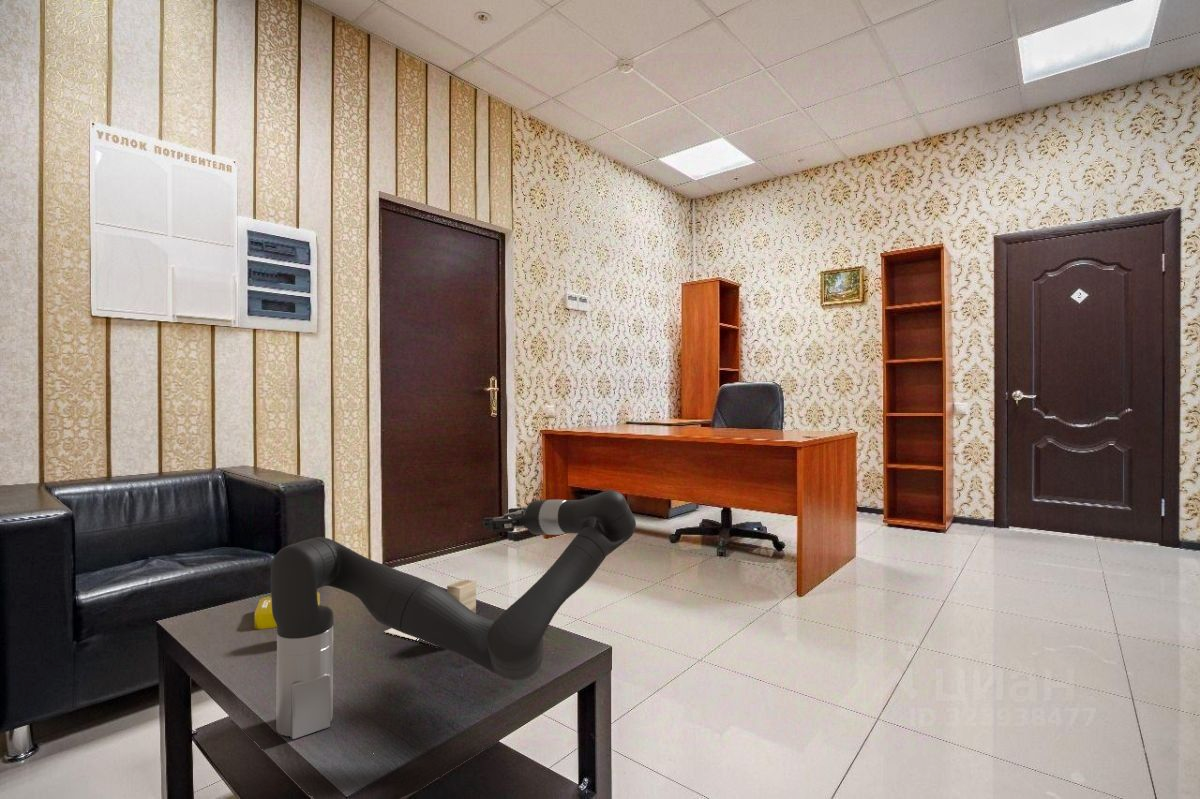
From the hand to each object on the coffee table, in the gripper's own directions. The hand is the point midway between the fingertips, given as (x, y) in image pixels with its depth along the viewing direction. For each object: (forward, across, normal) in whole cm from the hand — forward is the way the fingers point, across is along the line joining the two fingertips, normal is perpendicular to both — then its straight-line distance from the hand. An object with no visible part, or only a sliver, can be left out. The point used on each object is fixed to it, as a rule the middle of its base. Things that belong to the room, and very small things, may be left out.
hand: (497, 517), depth 134 cm
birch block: (+17, -2, -30) cm, 34 cm away
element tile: (+68, -17, -23) cm, 73 cm away
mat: (+28, -3, -28) cm, 40 cm away
